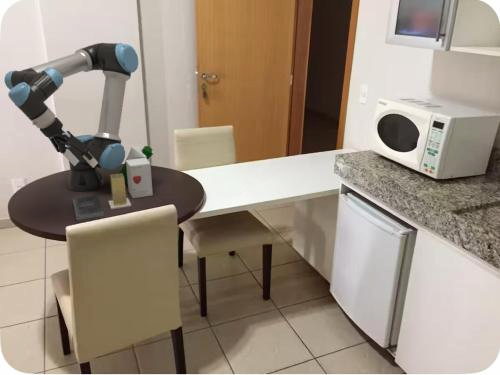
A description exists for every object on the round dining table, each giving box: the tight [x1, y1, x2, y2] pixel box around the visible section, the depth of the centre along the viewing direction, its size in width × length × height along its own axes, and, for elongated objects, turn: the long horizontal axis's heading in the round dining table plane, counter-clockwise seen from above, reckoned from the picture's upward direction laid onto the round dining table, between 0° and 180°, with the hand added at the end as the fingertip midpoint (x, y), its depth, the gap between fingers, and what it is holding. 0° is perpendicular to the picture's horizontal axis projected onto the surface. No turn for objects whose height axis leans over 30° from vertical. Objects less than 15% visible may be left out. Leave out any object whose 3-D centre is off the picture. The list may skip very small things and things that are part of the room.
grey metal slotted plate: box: [72, 194, 105, 221], centre depth 171 cm, size 18×10×2 cm, turn 25°
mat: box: [108, 197, 132, 210], centre depth 176 cm, size 8×8×1 cm
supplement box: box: [125, 158, 154, 199], centre depth 185 cm, size 9×9×15 cm
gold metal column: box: [109, 172, 127, 206], centre depth 174 cm, size 5×5×12 cm
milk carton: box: [119, 142, 155, 185], centre depth 194 cm, size 9×9×20 cm
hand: (85, 164), depth 166 cm, fingers open, 13 cm apart
